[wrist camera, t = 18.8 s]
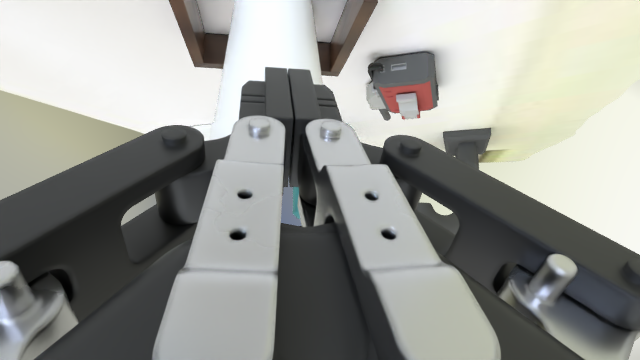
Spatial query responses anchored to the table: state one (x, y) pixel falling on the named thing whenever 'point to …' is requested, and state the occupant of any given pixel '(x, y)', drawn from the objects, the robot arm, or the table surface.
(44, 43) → the table surface
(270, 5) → the foam cup
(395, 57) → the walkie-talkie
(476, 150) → the faucet
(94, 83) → the table surface
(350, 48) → the cup bay
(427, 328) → the robot arm
